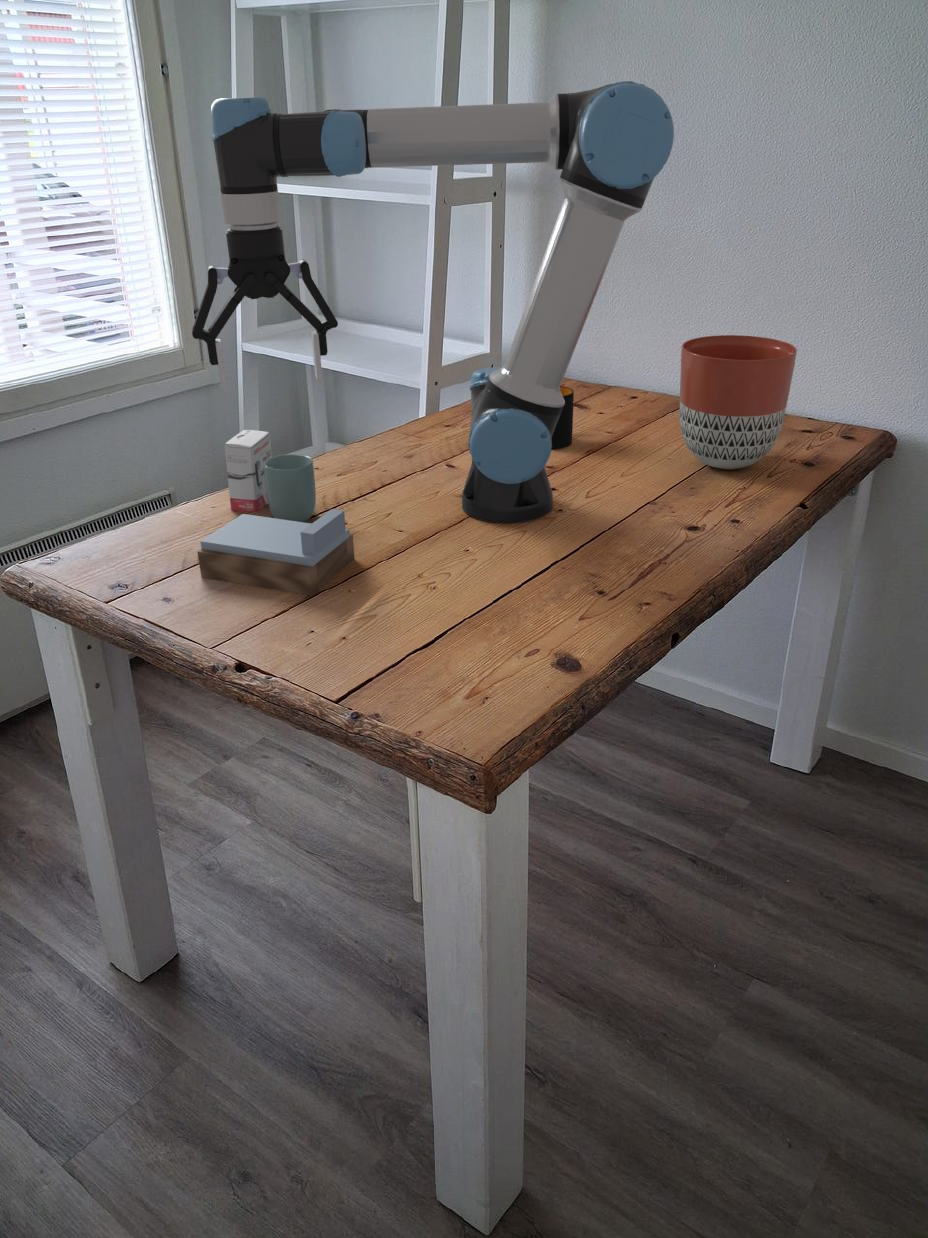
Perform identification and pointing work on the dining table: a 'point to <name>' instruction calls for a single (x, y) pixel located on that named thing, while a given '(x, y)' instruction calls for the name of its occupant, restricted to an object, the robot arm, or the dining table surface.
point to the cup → (290, 487)
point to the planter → (734, 397)
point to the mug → (564, 422)
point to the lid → (280, 538)
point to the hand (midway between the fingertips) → (272, 382)
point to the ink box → (247, 469)
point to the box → (276, 570)
